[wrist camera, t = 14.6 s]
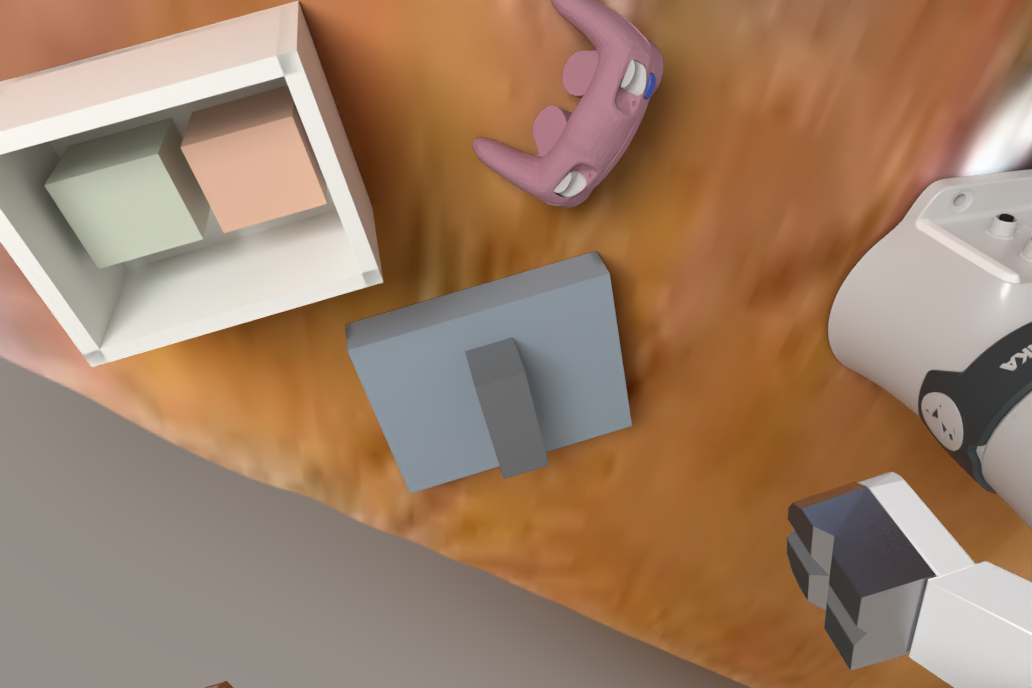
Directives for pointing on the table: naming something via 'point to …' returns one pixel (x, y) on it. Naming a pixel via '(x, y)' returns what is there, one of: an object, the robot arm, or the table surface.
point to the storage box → (183, 185)
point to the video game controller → (585, 110)
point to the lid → (495, 372)
